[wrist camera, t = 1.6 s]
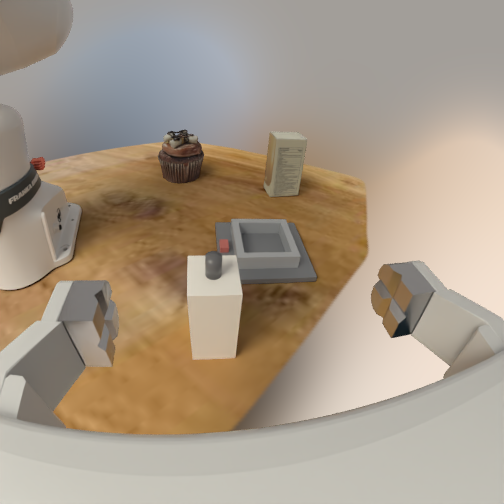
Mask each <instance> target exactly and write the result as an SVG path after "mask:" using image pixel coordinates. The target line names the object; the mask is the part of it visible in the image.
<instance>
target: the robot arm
mask: <svg viewBox="0 0 504 504" xmlns="http://www.w3.org/2000/svg"><path fill="white" fill-rule="evenodd" d="M72 22H73V8H72V4H71V2H70V0H0V76H1V75H3V74H7V73H10V72H13V71H16V70H19V69H23V68H25V67H28V66H30V65H32V64H34V63H36V62H38V61H41V60H43V59H45V58H47V57H49V56H51V55H54V54H55V53H57V52H58V50H59V49H60V48H61V46H62V45H63V44H64V42H65V41H66V39H67V37H68V35H69V33H70V30H71V27H72ZM44 162H45V161H44V158H43V157H40V158H33V159H32V160H31V162H30V161H29V155H28V150H27V145H26V138H25V133H24V125H23V120H22V118H21V116H20V114H19V112H18V111H17V110H15V109H14V108H12V107H10V106H7V105H3V104H0V289H3V290H15V289H19V288H23V287H26V286H28V285H30V284H32V283H34V282H36V281H38V280H39V279H41V278H42V277H44V276H45V275H46V274H47V273H49V272H50V271H51V270H52V269H54V268H56V267H58V266H61V265H63V264H65V263H67V262H69V261H70V260H71V259H72V257H73V252H74V247H75V241H76V236H77V231H78V226H79V222H80V217H81V213H82V209H81V207H80V206H79V205H77V204H74V203H67V200H66V196H65V193H64V191H63V189H62V188H61V187H59V186H56V185H53V184H50V183H47V182H44V181H41V179H40V177H39V175H38V173H37V172H36V170H43V169H44V167H45V166H44V165H45V163H44ZM378 277H379V279H380V280H379V281H378V282H377V283H376V284H375V285H374V288H373V290H372V294H371V302H372V306H373V309H374V310H375V312H376V314H378V315H379V316H381V317H383V325H384V327H385V328H386V330H387V332H388V333H389V335H390V337H391V338H395V337H399V336H404V335H409V334H412V336H413V337H414V338H415V339H417V340H418V341H419V342H420V343H422V344H423V345H424V346H426V347H427V348H428V349H429V350H431V351H432V352H433V353H434V354H436V355H437V356H438V357H439V358H441V359H442V360H443V361H444V362H446V363H447V364H448V365H449V366H450V368H449V369H448V370H447V371H446V373H445V374H444V377H443V378H444V379H442V380H440V381H437V382H435V383H432V384H430V385H427V386H425V387H422V388H419V389H416V390H414V391H411V392H408V393H405V394H403V395H399V396H396V397H393V398H390V399H387V400H384V401H381V402H377V403H374V404H370V405H367V406H363V407H360V408H356V409H352V410H349V411H345V412H341V413H336V414H332V415H328V416H323V417H319V418H314V419H310V420H304V421H299V422H293V423H288V424H282V425H276V426H269V427H262V428H255V429H246V430H237V431H227V432H215V433H199V434H168V435H152V434H122V433H106V432H95V431H85V430H76V429H69V428H66V426H65V425H64V423H63V422H62V421H61V420H60V419H59V418H58V417H57V416H56V415H55V414H54V413H53V411H54V409H55V408H56V406H57V405H58V404H59V402H60V401H61V400H62V398H63V397H64V396H65V394H66V393H67V392H68V390H69V389H70V388H71V386H72V385H73V384H74V382H75V381H76V380H77V378H78V377H79V376H80V375H81V373H82V372H83V371H84V369H85V366H99V367H112V366H113V360H114V354H115V345H114V343H113V340H114V339H115V338H116V337H117V336H118V329H119V317H118V311H117V307H116V304H115V303H114V302H113V301H112V300H111V299H110V298H111V294H112V290H111V287H110V284H109V282H108V281H106V280H97V281H60V282H58V283H57V285H56V287H55V289H54V291H53V293H52V296H51V298H50V300H49V302H48V305H47V307H46V309H45V312H44V314H43V317H42V319H41V321H36V322H35V323H33V324H32V325H31V326H30V327H29V328H27V329H26V330H25V331H24V332H23V333H22V334H20V335H19V336H18V337H17V338H16V339H15V340H13V341H12V342H11V343H10V344H9V345H8V346H7V347H6V348H4V349H3V350H2V351H1V352H0V504H504V321H503V319H502V318H501V317H499V316H497V315H496V314H494V313H492V312H491V311H489V310H487V309H485V308H484V307H482V306H480V305H478V304H476V303H475V302H473V301H471V300H469V299H467V298H466V297H464V296H462V295H460V294H458V293H457V292H455V291H453V290H451V289H449V290H447V288H446V287H445V286H444V285H443V284H442V283H441V281H440V280H439V279H438V278H437V277H436V276H435V275H434V274H433V273H432V271H431V270H430V269H429V268H428V267H427V266H426V265H425V264H424V262H421V261H412V262H407V263H395V264H384V265H383V266H382V267H381V268H380V270H379V273H378Z"/></svg>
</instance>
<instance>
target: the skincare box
mask: <svg viewBox="0 0 504 504" xmlns="http://www.w3.org/2000/svg"><path fill="white" fill-rule="evenodd" d="M306 145H307V139H306V138H305V137H303V136H302V135H301V134H300V133H298V132H270V136H269V145H268V153H267V162H266V171H265V180H264V188H265V190H266V192H267V193H268V195H269V196H270V197H277V196H293V195H298V192H299V187H300V181H301V175H302V169H303V163H304V157H305V151H306Z"/></svg>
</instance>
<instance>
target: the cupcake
mask: <svg viewBox="0 0 504 504" xmlns="http://www.w3.org/2000/svg"><path fill="white" fill-rule="evenodd" d="M174 133H180V134H178V135H176V136H175V134H174ZM197 140H198V137H197V136H194V135H193V134H192V135H191V134H188V133H187V130H181V131H179V132H173V131H171V132H168V133H167V135H165V136H164V141H165V142H164V143H163V145H162V148H163V149H162V150H161V151H160V152H159V156H158V159H159V161H160V164H161V168H162V173H163V178H165V179H166V180H167V181H169V182H172V183H187V182H191V181H194V180H196V179H197V178H198V177H199V174H200V169H201V165H202V161H203V157H204V153H203V151H202V150H201V149H202V146H201V144H200V143H199V142H198V141H197Z"/></svg>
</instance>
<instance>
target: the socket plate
mask: <svg viewBox="0 0 504 504" xmlns="http://www.w3.org/2000/svg"><path fill="white" fill-rule="evenodd" d="M215 229H216V241H217V252H219V253H221V254H222V255H236V257H237V263H238V269H239V275H240V282H241V284H261V283H288V282H312V281H316V279H317V276H316V273H315V271H314V269H313V266H312V264H311V261H310V259H309V257H308V254H307V252H306V250H305V247H304V245H303V243H302V240H301V238H300V236H299V233H298V231H297V229H296V227H295V224H294V223H287V221H286V219H231V222H228V223H215Z"/></svg>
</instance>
